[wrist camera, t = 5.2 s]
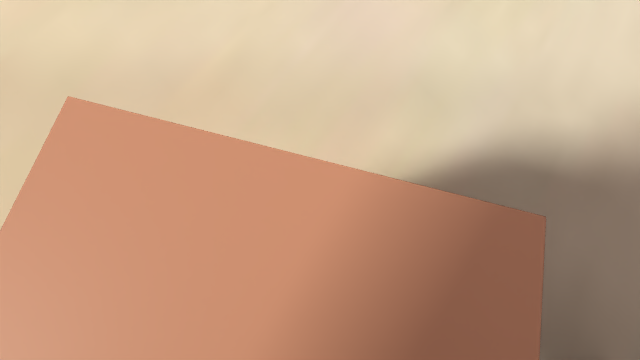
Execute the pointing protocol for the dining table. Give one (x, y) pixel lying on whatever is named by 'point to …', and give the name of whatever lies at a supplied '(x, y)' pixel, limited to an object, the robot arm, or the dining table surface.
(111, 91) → the dining table surface
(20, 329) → the terracotta block
